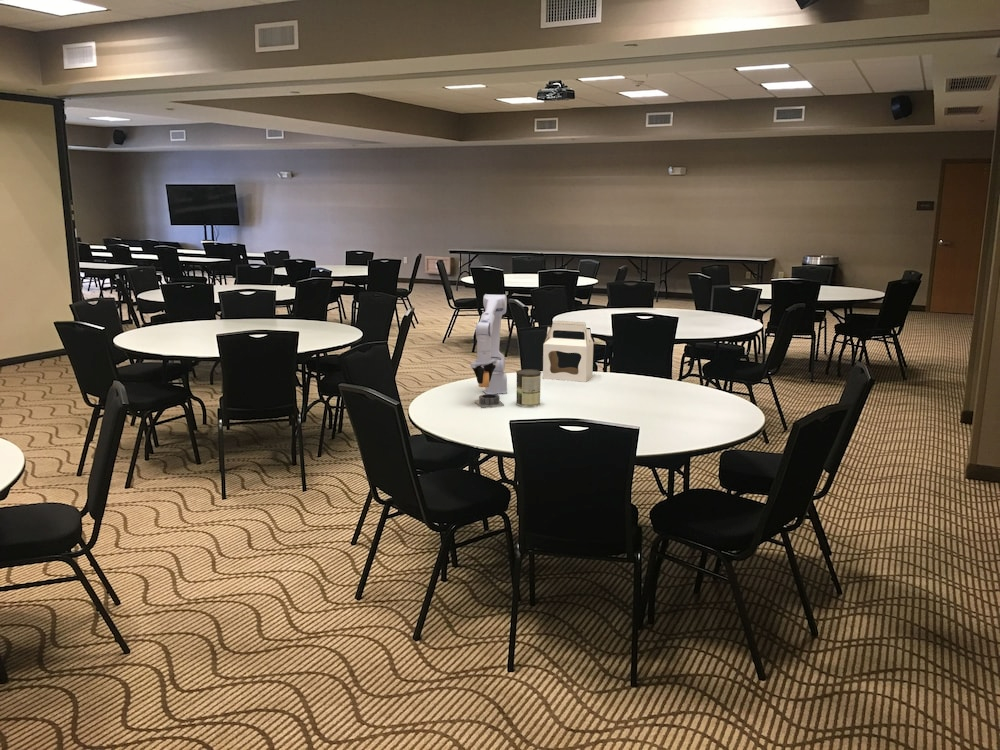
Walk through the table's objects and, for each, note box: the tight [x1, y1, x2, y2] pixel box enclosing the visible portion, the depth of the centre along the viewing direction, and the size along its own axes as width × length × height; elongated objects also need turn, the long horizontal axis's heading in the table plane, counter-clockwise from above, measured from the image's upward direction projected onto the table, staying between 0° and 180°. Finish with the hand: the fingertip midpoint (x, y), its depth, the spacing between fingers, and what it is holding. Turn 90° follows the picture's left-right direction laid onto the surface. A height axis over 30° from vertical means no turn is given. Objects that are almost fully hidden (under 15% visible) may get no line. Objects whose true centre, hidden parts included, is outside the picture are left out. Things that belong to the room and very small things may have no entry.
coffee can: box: [515, 368, 542, 408], centre depth 323 cm, size 10×10×14 cm
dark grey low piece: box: [474, 393, 505, 409], centre depth 323 cm, size 10×10×4 cm
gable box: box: [542, 320, 594, 383], centre depth 375 cm, size 22×13×28 cm, turn 70°
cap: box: [478, 371, 489, 388], centre depth 324 cm, size 4×4×6 cm
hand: (484, 382), depth 325 cm, fingers closed on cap, 4 cm apart
